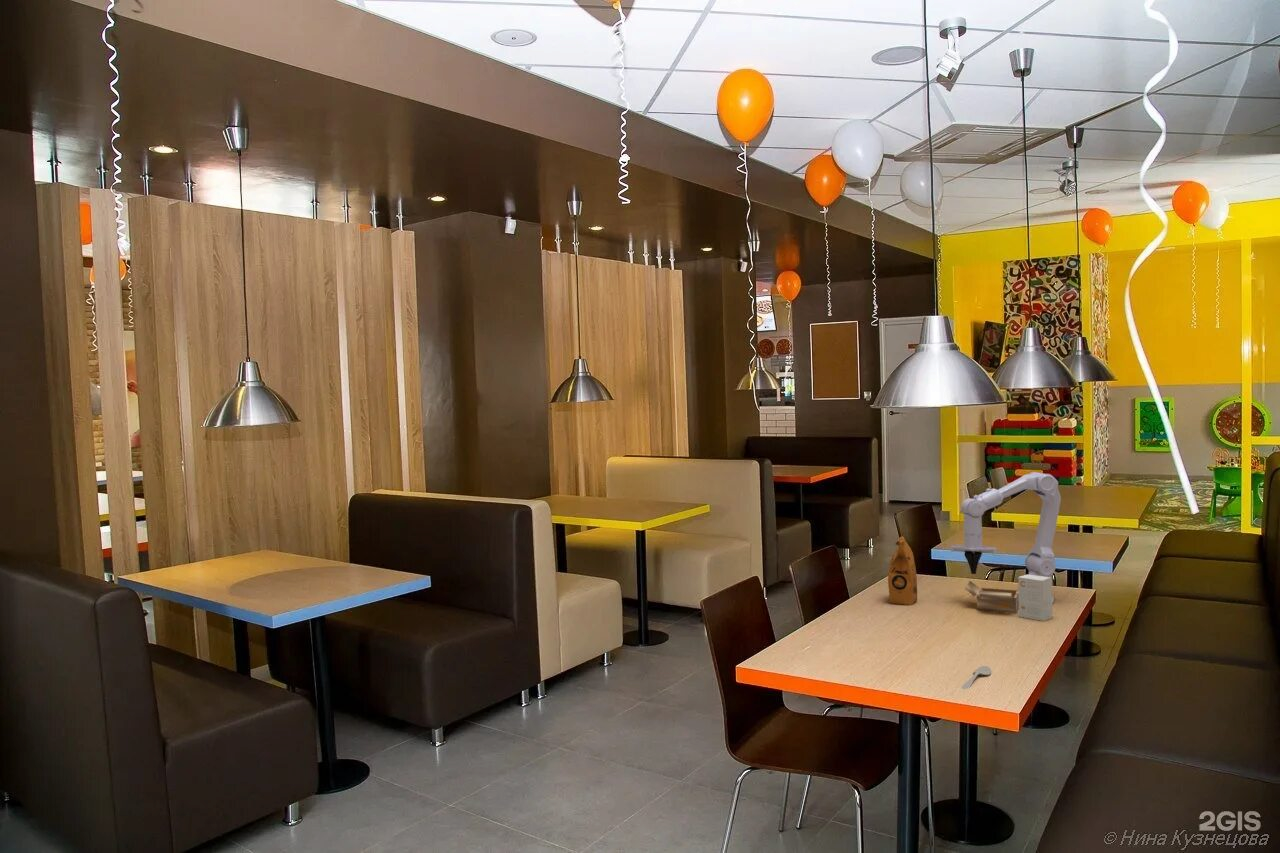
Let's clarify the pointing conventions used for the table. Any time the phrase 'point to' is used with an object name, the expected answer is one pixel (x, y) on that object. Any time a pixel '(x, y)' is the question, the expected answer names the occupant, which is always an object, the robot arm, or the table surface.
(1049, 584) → the small box
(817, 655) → the table surface
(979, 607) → the carton
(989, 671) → the spoon
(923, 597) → the table surface
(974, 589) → the side flap
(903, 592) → the coffee package
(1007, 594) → the front flap
